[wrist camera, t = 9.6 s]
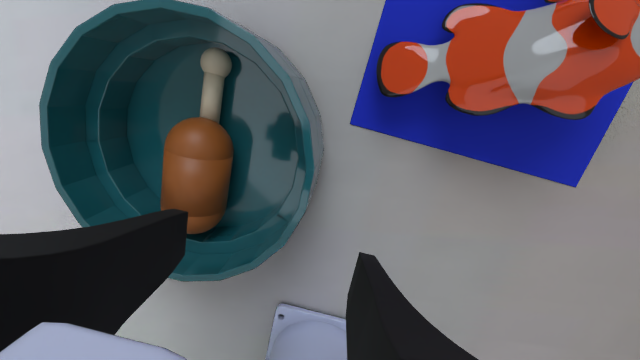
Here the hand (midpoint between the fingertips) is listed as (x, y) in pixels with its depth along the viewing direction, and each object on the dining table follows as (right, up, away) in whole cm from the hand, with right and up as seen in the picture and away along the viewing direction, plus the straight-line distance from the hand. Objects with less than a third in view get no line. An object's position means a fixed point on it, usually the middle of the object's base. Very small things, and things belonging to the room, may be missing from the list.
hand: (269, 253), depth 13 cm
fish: (+13, +11, +6) cm, 18 cm away
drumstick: (-5, +6, +8) cm, 11 cm away
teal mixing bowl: (-5, +6, +9) cm, 12 cm away
